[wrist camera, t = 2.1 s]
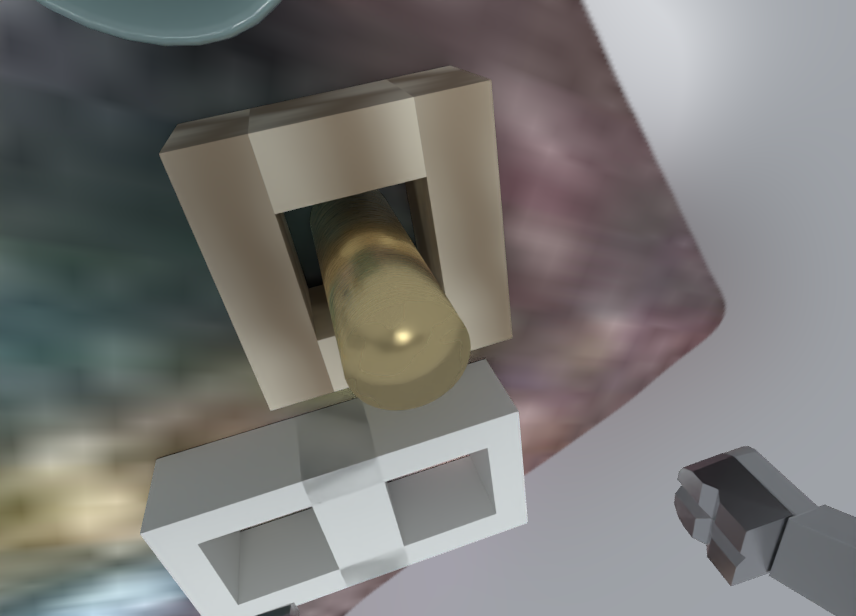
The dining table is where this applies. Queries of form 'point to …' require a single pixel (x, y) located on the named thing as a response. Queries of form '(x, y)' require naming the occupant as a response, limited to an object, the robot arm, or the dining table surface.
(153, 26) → the cup
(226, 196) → the socket block
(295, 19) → the dining table surface
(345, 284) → the brass peg
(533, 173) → the dining table surface
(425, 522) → the rack
